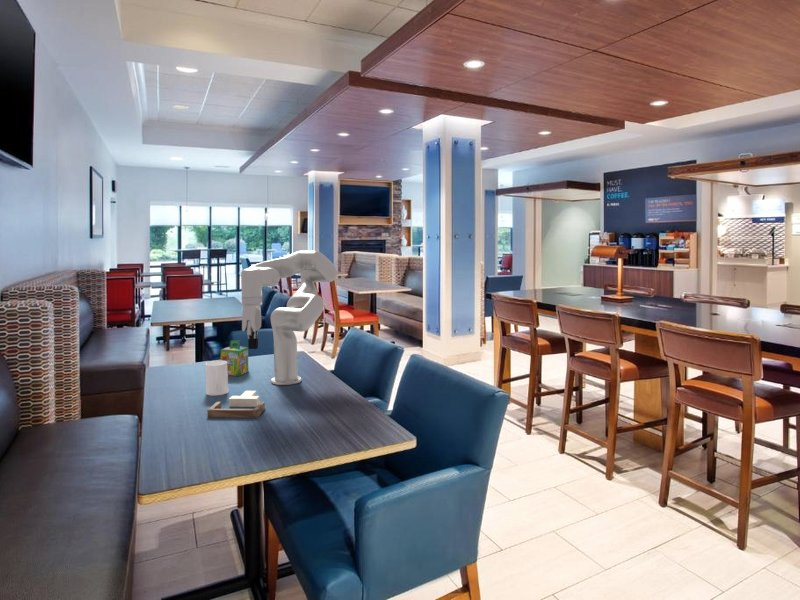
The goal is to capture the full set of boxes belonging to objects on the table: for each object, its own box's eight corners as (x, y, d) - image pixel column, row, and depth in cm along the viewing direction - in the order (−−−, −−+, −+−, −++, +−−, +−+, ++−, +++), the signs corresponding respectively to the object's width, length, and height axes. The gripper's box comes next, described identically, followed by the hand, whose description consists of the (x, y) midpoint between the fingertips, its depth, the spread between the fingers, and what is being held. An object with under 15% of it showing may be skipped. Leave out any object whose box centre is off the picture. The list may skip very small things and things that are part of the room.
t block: (238, 398, 199) (237, 390, 198) (264, 398, 199) (264, 390, 198) (229, 406, 189) (228, 398, 188) (256, 406, 189) (256, 398, 188)
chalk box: (220, 375, 231) (219, 342, 230) (230, 370, 240) (229, 338, 239) (240, 376, 230) (238, 343, 228) (249, 371, 239) (248, 339, 237)
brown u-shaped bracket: (217, 408, 186) (216, 401, 186) (264, 408, 186) (264, 402, 186) (207, 417, 177) (207, 410, 177) (257, 417, 177) (257, 410, 177)
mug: (227, 397, 200) (226, 366, 198) (203, 398, 198) (202, 367, 196) (229, 388, 211) (228, 359, 210) (207, 390, 209) (205, 360, 208)
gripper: (248, 299, 207) (249, 344, 209) (235, 303, 192) (237, 352, 194) (267, 299, 207) (268, 344, 209) (256, 303, 192) (257, 352, 194)
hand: (253, 348), depth 201 cm, fingers closed
